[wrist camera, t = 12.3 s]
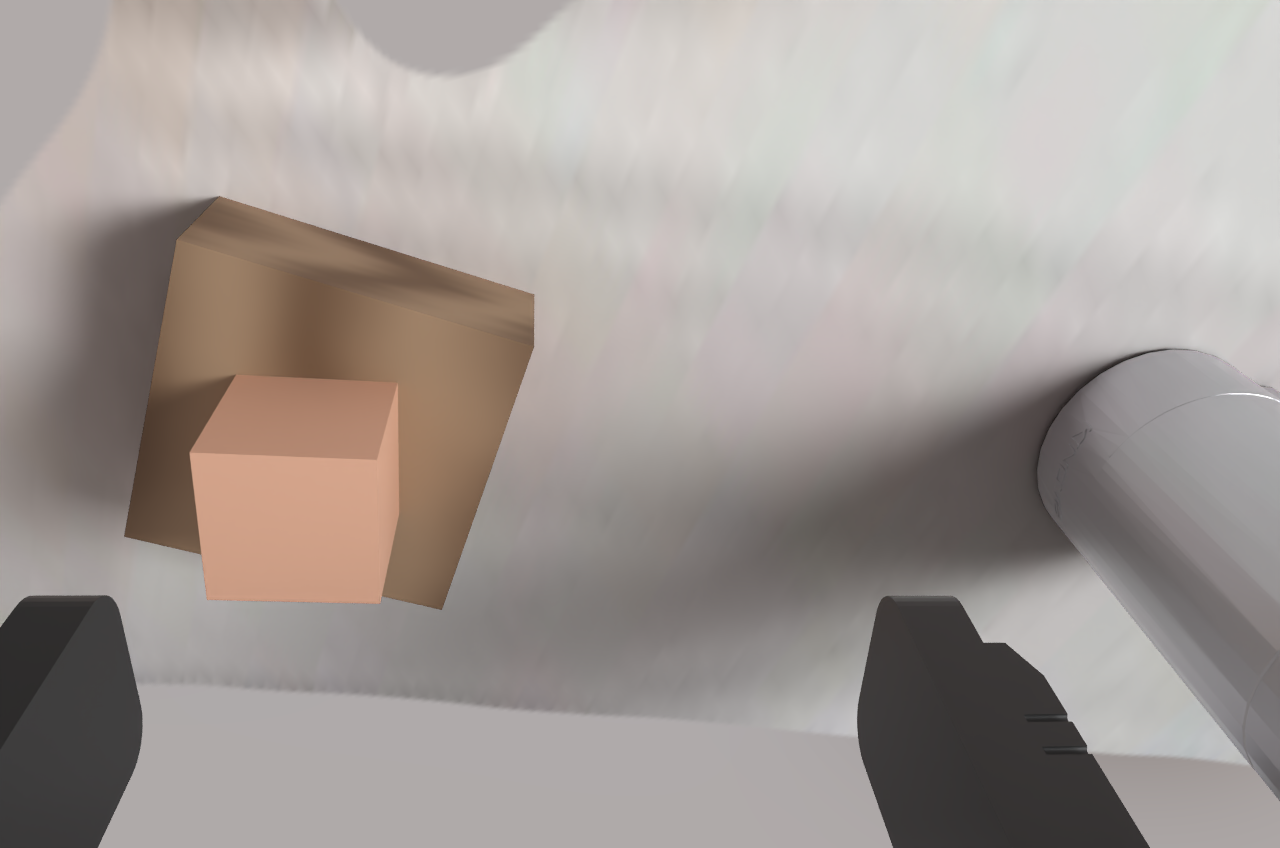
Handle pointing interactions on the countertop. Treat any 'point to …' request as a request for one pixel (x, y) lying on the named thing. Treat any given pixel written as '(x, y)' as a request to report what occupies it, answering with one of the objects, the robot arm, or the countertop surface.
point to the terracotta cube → (298, 490)
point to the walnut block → (335, 370)
